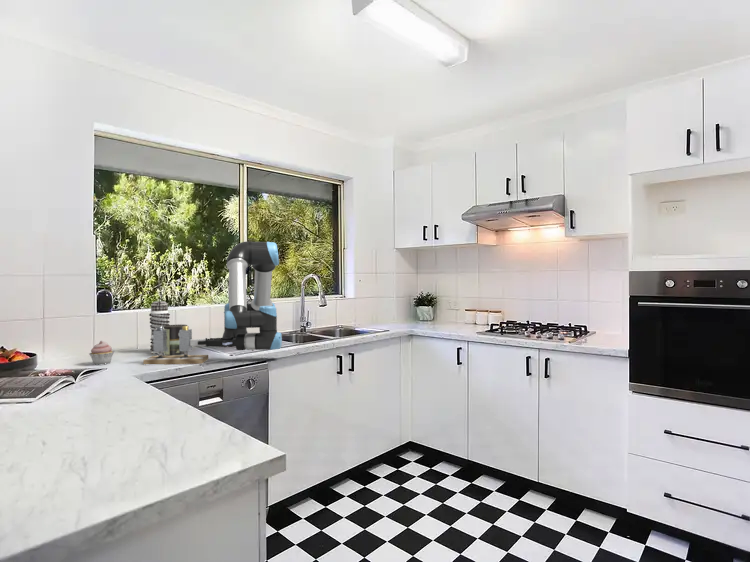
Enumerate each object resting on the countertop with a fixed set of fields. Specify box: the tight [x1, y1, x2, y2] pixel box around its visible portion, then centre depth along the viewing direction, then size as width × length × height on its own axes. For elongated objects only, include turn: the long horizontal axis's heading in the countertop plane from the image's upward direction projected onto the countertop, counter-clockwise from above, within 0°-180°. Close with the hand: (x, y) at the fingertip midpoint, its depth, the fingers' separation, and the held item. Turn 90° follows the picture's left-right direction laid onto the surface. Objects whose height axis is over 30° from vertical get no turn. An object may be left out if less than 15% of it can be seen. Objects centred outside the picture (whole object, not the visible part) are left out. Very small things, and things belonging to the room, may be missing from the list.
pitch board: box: [142, 354, 209, 365], centre depth 195 cm, size 24×10×2 cm, turn 96°
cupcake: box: [88, 340, 115, 365], centre depth 192 cm, size 9×9×10 cm
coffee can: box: [163, 324, 188, 356], centre depth 212 cm, size 10×10×14 cm
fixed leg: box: [153, 326, 167, 358], centre depth 194 cm, size 4×4×14 cm
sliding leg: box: [179, 325, 193, 357], centre depth 195 cm, size 4×4×13 cm
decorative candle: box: [148, 300, 171, 354], centre depth 220 cm, size 9×9×25 cm
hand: (190, 342), depth 195 cm, fingers closed
